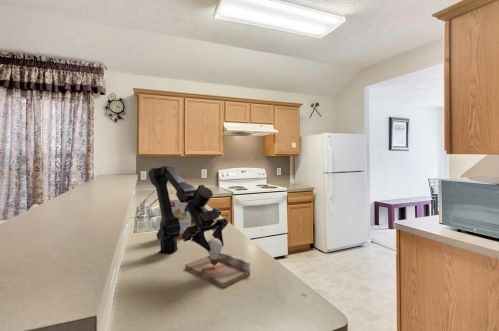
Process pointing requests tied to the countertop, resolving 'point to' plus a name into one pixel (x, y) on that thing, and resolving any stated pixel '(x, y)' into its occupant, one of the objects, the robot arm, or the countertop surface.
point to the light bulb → (214, 250)
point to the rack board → (221, 269)
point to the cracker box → (181, 214)
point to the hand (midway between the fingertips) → (216, 248)
